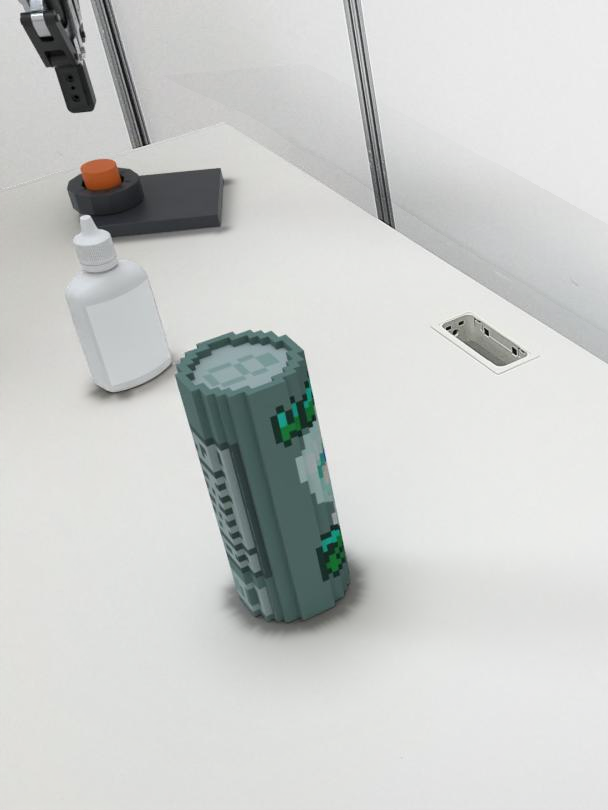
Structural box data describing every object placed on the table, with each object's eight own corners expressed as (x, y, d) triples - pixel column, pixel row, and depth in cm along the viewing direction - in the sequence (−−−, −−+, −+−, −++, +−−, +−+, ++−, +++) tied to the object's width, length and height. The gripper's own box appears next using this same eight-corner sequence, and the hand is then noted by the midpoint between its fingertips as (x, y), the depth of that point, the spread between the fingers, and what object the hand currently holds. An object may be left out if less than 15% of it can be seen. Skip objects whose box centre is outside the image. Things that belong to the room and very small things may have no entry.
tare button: (84, 194, 106) (78, 174, 105) (88, 180, 108) (82, 160, 107) (120, 190, 107) (114, 171, 105) (123, 176, 109) (117, 157, 108)
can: (366, 591, 72) (322, 366, 61) (270, 636, 69) (208, 409, 59) (317, 538, 75) (268, 318, 65) (224, 579, 72) (158, 357, 62)
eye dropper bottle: (178, 380, 89) (132, 223, 81) (97, 398, 87) (42, 239, 79) (170, 351, 92) (125, 196, 84) (91, 367, 90) (38, 211, 82)
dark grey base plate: (71, 242, 105) (60, 209, 103) (84, 193, 112) (74, 161, 110) (220, 227, 107) (212, 194, 105) (223, 180, 114) (216, 148, 112)
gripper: (-27, -143, 96) (47, 85, 107) (-59, -100, 86) (25, 145, 98) (73, -150, 97) (135, 77, 108) (52, -108, 87) (123, 135, 99)
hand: (83, 109), depth 103 cm, fingers closed
